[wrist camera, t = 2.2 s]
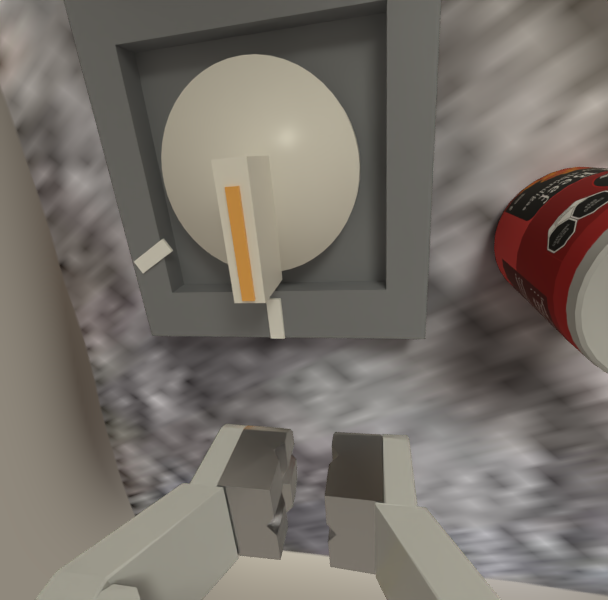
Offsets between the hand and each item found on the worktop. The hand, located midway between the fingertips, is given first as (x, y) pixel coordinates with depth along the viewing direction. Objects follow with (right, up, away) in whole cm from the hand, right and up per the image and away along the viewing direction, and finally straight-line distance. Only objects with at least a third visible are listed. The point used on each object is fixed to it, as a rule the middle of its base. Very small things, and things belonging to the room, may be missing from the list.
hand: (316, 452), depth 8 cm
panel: (-2, +12, +17) cm, 21 cm away
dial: (-3, +11, +15) cm, 19 cm away
